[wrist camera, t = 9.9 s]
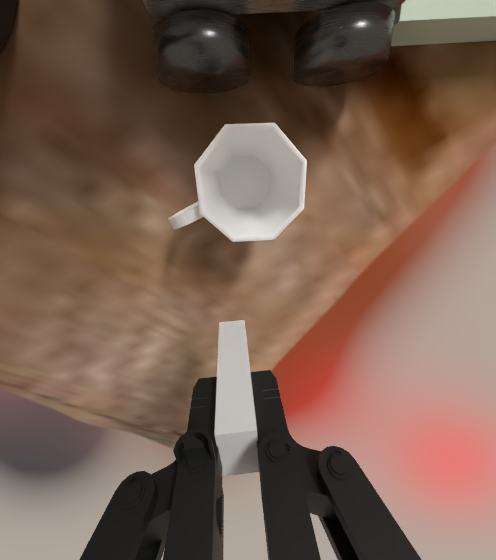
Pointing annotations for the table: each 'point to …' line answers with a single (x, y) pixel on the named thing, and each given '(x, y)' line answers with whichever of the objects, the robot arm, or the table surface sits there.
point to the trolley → (235, 41)
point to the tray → (444, 22)
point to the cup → (248, 183)
